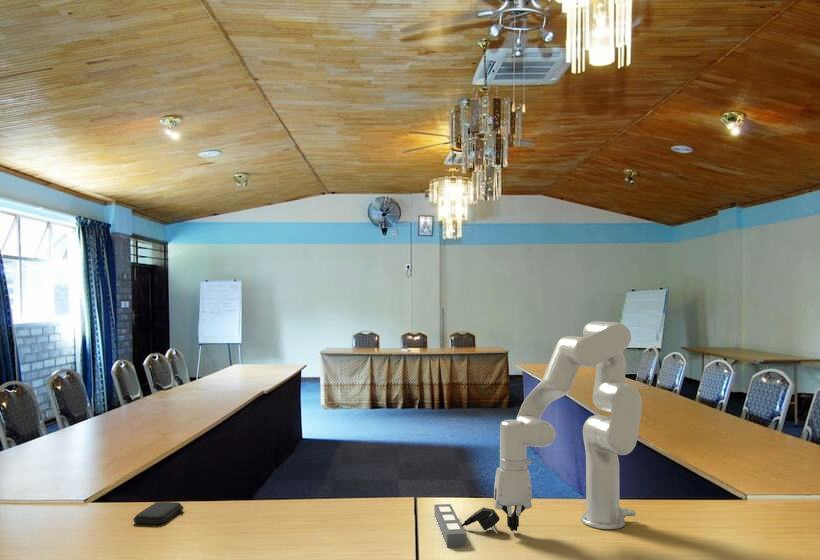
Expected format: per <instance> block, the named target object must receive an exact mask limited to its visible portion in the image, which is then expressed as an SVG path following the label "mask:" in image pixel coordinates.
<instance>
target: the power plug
mask: <svg viewBox="0 0 820 560" xmlns="http://www.w3.org/2000/svg"><path fill="white" fill-rule="evenodd" d="M500 519H501V518H500V516H499V515H498V514H497V512H496V510H495V508H494V509H492V508H487V507H484V506H483V507H482V508H480V509H479V510H477V511H475V512H474V513H473V514H471V515H470V516H469V517H468V518H466V520H464V522H462V524H461V526H462V528H464V527H465V526H466V527H468V525H472V524H474V523H475V522H478V524H479V525H480V527H481V528H482V530H483V531H487V530H489V529H491V530H492V531H493V532H494V534H495V535H498V531H499V528H498V527H497V525H496V524H498V522H499V521H500Z"/></svg>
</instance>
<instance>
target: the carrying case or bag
mask: <svg viewBox="0 0 820 560" xmlns="http://www.w3.org/2000/svg"><path fill="white" fill-rule="evenodd" d="M184 507H185V506H183V504H181V503H180V502H173V501H156V502H154V503H152V504H151V505H149V506H148V507H146V508H145V509H143V510H142V511H140V512H138V513H137V514H136V515H135V516H134V518H133V523H134V524H135V525H141V526H161V525H163V524H165V523H166V522H168V521H169V520H171V519H172V518H174V517H175V516H176V515H177V514H179V513H183V510H184Z"/></svg>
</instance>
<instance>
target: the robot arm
mask: <svg viewBox="0 0 820 560" xmlns="http://www.w3.org/2000/svg"><path fill="white" fill-rule="evenodd" d="M631 341H632V332H631V330H630V329H629V328H628V327H627V326H626V325H625V324H623V323H621V322H616V321H602V320H601V321H600V320H595V321H590V322H588V323H586V324H585V325H584V327H583V330H582V336H578V335H577V336H575V335H569V336H568V335H567V336H563V337H561V338H560V339H559V340H558V341H557V343H556V345H555V348H554V350H553V353H552V355H551V357H550V359H549V362H548V364H547V366H546V369H545V371H544V374H543V376H542V379H541V380H540V382H539V383H538V384H537V385H536V386H535V387H534V388H533V389H532V390H531V391H530V392H529V393H528V395H527V396H526V397H525V399H524V400H523V402H522V404H521V406H520V408H519V411H518V413H517V416H516V419H504V420H502V421H501V422H500V423H499V425H500V426H499V467H496V471H495V477H494V487H493V488H494V489H493V499H494V504H493V505H494V506H493V507H494V509H496V510H500V511H503V512H504V513H505V514H506V520H507V523H506V524H507V527H508V528H509V529H510V531H511V532H513V531H515V532H517V531H518V527H519V526H520V516H521V514H522V513H523V512H524V511H525V510H529V509H531V508H532V507H533V505H532V501H533V498H532V497H533V495H532V494H533V493H532V492H533V491H532V483H531V474H530V471H529V469H528V466H529V465H532V459H528V458H527V447H536V448H545V447H548V446H550V445H552V444H553V443H554V442H555V440H556V436H557V434H556V430H555V428H554V426H553V425H552V424H551V423H550V422H548V421H546V420H544V419H541V418H542V415H543V413H544V412H545V410H546V409H547V407H548V406H549V405H550V404H551V403H553V402H554V401H557V400H558V399H560V398H563V397H564V396H567V394H569V393H570V391H571V389H572V385H573V384H574V381H575V379H576V377H577V374H578V371H579V369H580V367H583V368H590V367H594V366H596V369H595V375H594V384H593V389H592V403H593V405H594V406H595V407H596V408H597V409H599V410H600V411H603V412H606V413H609V414H610V417H609V416H606V415H603V414H595V415H591V416H589V417H588V418H587V419H586V421H584V424H583V427H582V438H583V443H584V450H585V490H586V492H585V493H586V494H585V499H586V500H585V501H586V502H585V505H586V507H585V509H586V512H583V513H582V514H581V515H580V521H581V522H582V523H583V524H585V525H586V526H588V527H592V528H595V529H600V530H618V529H622V528H623V527H625V526H626V520H625V518H626V517H629V518H630V517H636V513H637V512H636V510H635V509H628V508H627V507H621V506H620V461H619V456H625V455H628V454H630V453H631V452H632V451H633V450H634V449H635V447H636V445H637V441H638V438H639V431H640V424H641V416H642V409H643V401H642V396H641V394H640V393H641V392H639V390H638V389H637V388H636V387H635V386H633V385H632V384H630V383H629V384H628V383H627V382H625V381H626V371H627V362H626V357H625V354H624V353H623V352H624V351H625V350H626V349H627V348H628V347H629V346H630V344H631ZM618 455H619V456H618ZM513 506H514V507H513ZM512 507H513V509H512Z"/></svg>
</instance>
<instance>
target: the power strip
mask: <svg viewBox="0 0 820 560" xmlns="http://www.w3.org/2000/svg"><path fill="white" fill-rule="evenodd" d="M433 505H434V506H433V508H434V509H433V510H434V515H435V516H434V518H435V517H436V519H435V521H436V520H437V521H436V523H437V522H438V524H437V526H438V525H439V526H438V528H439V527H440V529H439V531H440V530H441V531H440V533H441V532H442V533H441V536H442V535H443V536H442V539H443V541H444V540H445V541H444V543H445V542H446V543H445V545H447V546H446V548H463V547H464V548H465V547H466V541H467V540H466V532H465V530H464V527H462V526H461V525H462V524H461V522H460V520H459V518H458V515H457V514H456V512H455V509H454V508H453V506H452V505H451V503H443V504H442V503H441V504H439V503H438V504H433Z"/></svg>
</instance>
